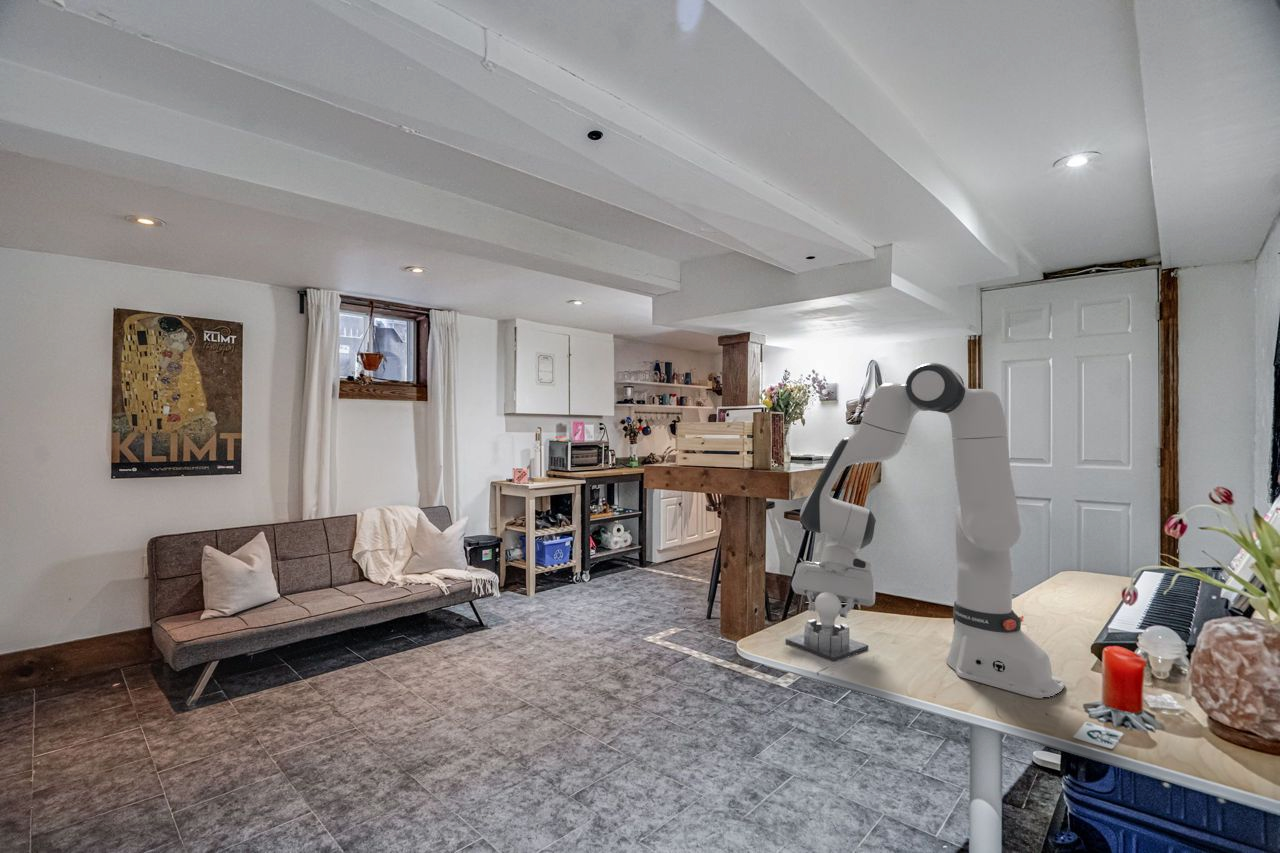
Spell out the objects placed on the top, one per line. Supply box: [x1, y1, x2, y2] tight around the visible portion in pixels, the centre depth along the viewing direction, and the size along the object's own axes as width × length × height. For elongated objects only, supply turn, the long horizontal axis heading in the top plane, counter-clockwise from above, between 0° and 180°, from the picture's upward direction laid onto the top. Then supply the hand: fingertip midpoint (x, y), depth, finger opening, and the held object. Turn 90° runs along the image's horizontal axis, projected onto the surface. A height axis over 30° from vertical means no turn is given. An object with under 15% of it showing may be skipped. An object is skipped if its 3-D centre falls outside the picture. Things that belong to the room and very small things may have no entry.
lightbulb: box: [814, 592, 842, 636], centre depth 147 cm, size 6×6×11 cm
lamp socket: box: [785, 618, 869, 663], centre depth 147 cm, size 14×14×5 cm
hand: (827, 613), depth 147 cm, fingers closed on lightbulb, 6 cm apart
